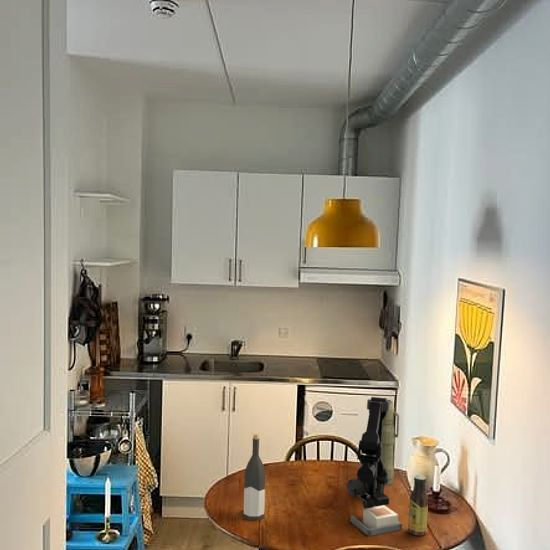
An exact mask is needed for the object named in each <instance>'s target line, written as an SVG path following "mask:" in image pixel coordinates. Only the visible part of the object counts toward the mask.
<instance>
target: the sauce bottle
mask: <svg viewBox="0 0 550 550" xmlns="http://www.w3.org/2000/svg"><path fill="white" fill-rule="evenodd" d="M413 477H414V478H413V480H414V482H413V483H414V484H413V489H412V492H411V494H410V496H409V504H408V505H409V506H408V532H409V533H410V534H412V535H414V536H425V535H426V532H427V529H428V528H427V526H428V525H427V523H428V511H429V510H428V509H429V508H428V507H429V505H428V503H429V502H428V501H429V496H428V494H427V492H426V483H427V476H425V475H422V474H416V475H414V476H413Z"/></svg>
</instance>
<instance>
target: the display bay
mask: <svg viewBox="0 0 550 550" xmlns="http://www.w3.org/2000/svg"><path fill="white" fill-rule="evenodd" d="M351 522H352V524H353V525H354V526H355V527H357V529H358V530H360V531H361V532H363V533H364V534H365V535H367V537H371V536H375V535H381V534H387V533H391V532H396V531H402V530H403V523H402V522H400V521H399V520H398V523H396V524H391V525H386V526H381V527H376V528H371V529H370V528H369V527H368V526H367V525H365V524H364V523H363V521H360V520H359V519H357V517H356V516H355V515H352V516H350V523H351Z"/></svg>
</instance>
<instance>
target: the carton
mask: <svg viewBox="0 0 550 550" xmlns="http://www.w3.org/2000/svg"><path fill="white" fill-rule="evenodd" d="M362 515H363V516H362V523H363V524H364V525H365V526H367V527H368V528H369V529H371V528H376V527H381V526H386V525H391V524H396V523H398V521H399V514H398V513H396V512H395V511H393V510H392V509H391V508H389V507H387V505H382V506H374V507H372V508H366V509H364V508H363V513H362Z"/></svg>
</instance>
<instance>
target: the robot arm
mask: <svg viewBox="0 0 550 550" xmlns="http://www.w3.org/2000/svg"><path fill="white" fill-rule="evenodd" d="M387 400H388V399H387V398H386V397H377V396H376V397H375V396H371V398H370V399H367V400H366V401H367V402H366V410H368V419H367V425H366V431H365V432H363V433H362V434H361V440H359V442H358V449H357V456H356V460H357V461H359V460H360V465H359V467H358V469H357V472H356V477H357V478H352V479H350V480H349V481H348V482H347V483H346V484H345V487H346V491H347V494H348V495H350V496H351V497H352V498H357V497H359V498H360V499H361V502H362V506H363V509H366V508H372V507H377V506H383V505H385V506H388V505H390V497H389V496H388V495H386V494H385V493H384V492H385V486H384V485H385V484H386V483H388V473H387V471H386V469H385V463H384V461H383V459H382V457H381V453H382V433H383V419H384V418H385V416H386V415H387V412H388V411H389V405H390V402H389V401H387ZM383 478H384V479H383Z"/></svg>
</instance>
